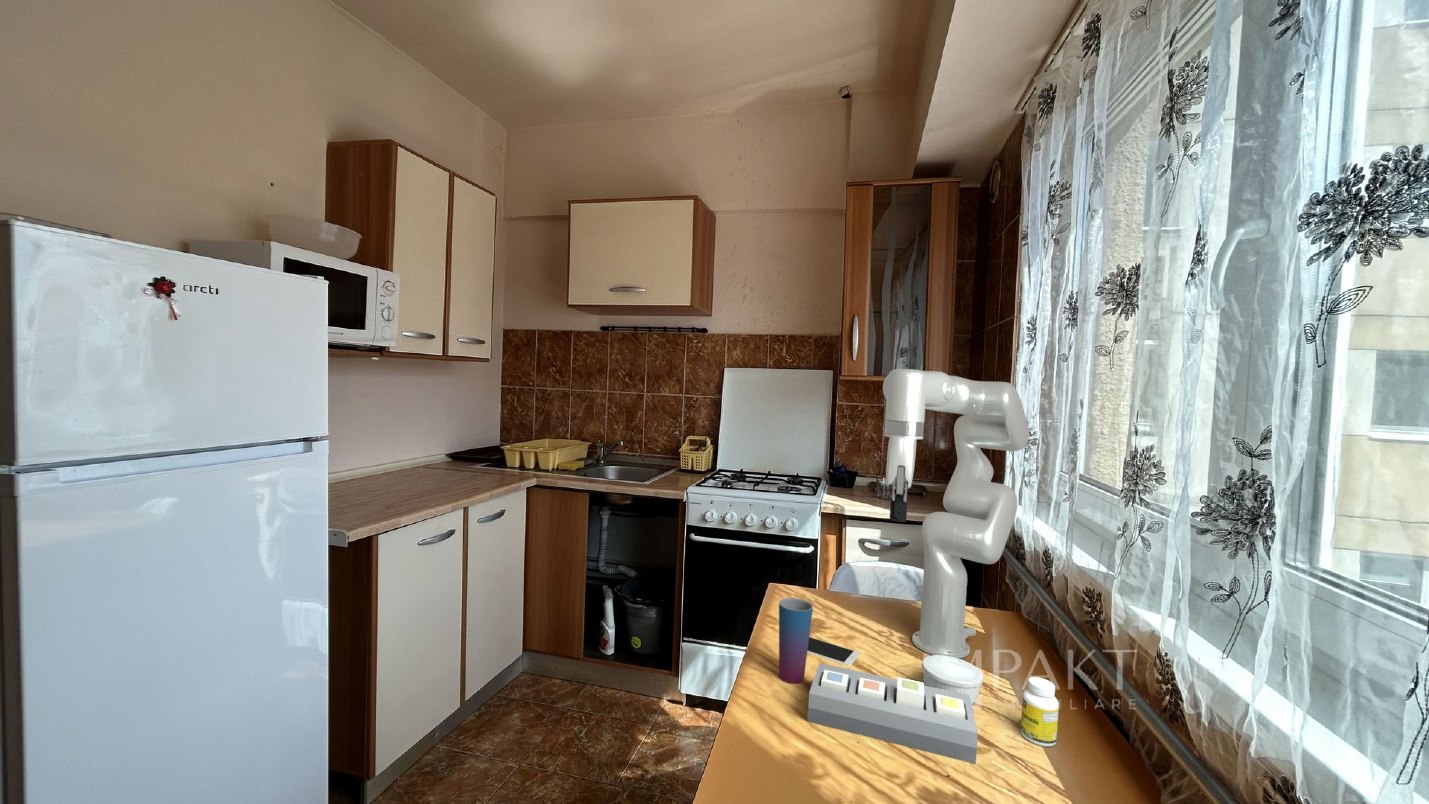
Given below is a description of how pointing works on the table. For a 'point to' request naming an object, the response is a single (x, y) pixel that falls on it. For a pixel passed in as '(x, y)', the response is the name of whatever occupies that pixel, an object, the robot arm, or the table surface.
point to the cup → (793, 638)
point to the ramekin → (952, 675)
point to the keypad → (894, 716)
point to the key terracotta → (871, 688)
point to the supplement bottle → (1040, 712)
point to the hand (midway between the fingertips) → (897, 520)
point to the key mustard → (949, 706)
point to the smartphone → (832, 651)
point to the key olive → (910, 693)
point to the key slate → (835, 680)
